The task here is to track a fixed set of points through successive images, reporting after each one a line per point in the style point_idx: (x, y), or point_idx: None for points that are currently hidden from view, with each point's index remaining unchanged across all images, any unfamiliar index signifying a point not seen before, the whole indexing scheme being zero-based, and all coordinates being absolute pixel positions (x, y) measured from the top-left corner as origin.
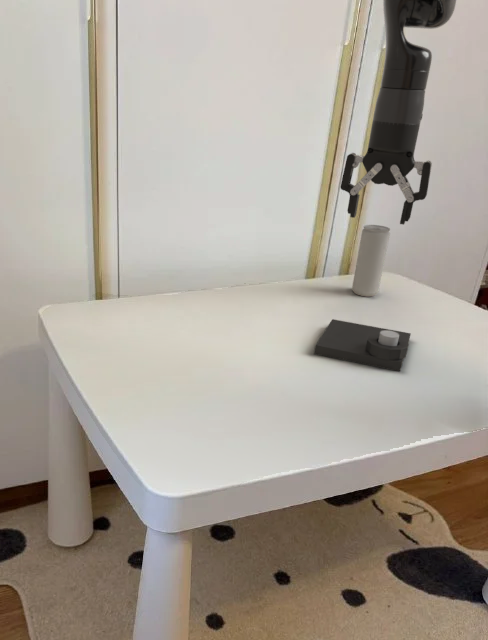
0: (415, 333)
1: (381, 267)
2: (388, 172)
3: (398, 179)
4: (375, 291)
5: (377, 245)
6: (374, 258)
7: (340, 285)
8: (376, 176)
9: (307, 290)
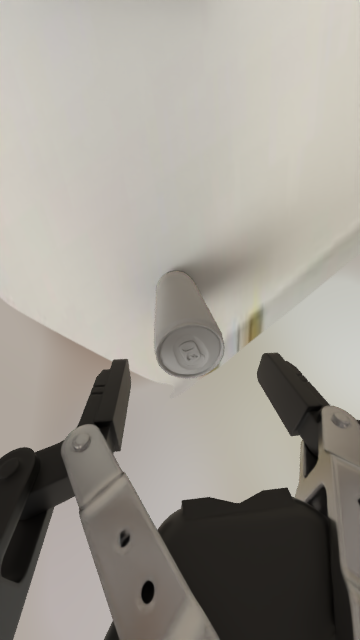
0: (31, 69)
1: (157, 299)
2: (254, 637)
3: (152, 571)
4: (159, 281)
5: (174, 307)
6: (173, 293)
7: (212, 306)
8: (312, 551)
9: (260, 255)
